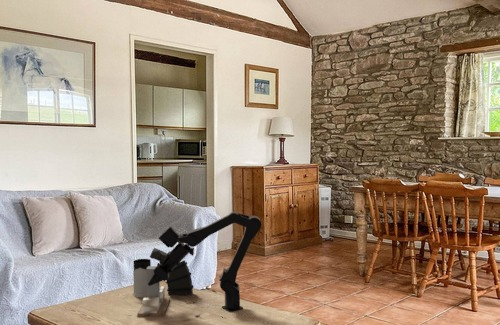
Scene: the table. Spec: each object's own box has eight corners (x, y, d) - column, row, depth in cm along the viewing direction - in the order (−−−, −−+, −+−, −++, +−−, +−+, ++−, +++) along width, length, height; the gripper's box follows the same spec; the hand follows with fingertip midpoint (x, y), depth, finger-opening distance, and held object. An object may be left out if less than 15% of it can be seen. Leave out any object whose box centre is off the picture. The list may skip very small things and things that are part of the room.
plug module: (159, 297, 197) (159, 266, 197) (158, 301, 193) (157, 268, 192) (148, 297, 197) (147, 266, 196) (146, 301, 193) (145, 269, 192)
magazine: (197, 292, 213) (183, 261, 213) (172, 303, 215) (157, 273, 216) (200, 289, 216) (185, 259, 217) (174, 301, 219) (160, 271, 219)
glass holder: (130, 296, 213) (129, 263, 212) (138, 287, 227) (138, 255, 227) (150, 296, 213) (149, 263, 212) (157, 287, 227) (156, 255, 226)
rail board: (169, 299, 208) (169, 285, 208) (163, 316, 188) (162, 300, 188) (146, 300, 208) (146, 285, 208) (137, 316, 188) (137, 300, 188)
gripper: (165, 237, 203) (139, 264, 203) (158, 246, 185) (130, 276, 185) (184, 255, 204) (158, 282, 204) (179, 266, 185) (151, 295, 185)
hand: (149, 283), depth 195 cm, fingers closed on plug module, 4 cm apart
